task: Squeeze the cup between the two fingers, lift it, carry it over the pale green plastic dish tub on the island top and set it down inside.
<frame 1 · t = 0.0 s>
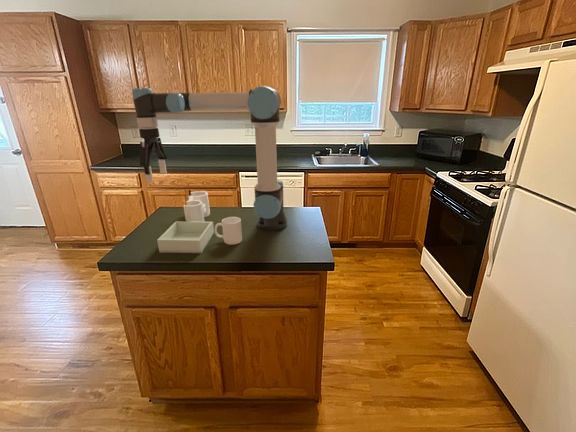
hand: (157, 177, 137), 28 cm above the countertop, fingers open, 13 cm apart
cup: (229, 241, 140), on the countertop
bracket: (199, 219, 165), on the countertop
tub: (188, 242, 139), on the countertop
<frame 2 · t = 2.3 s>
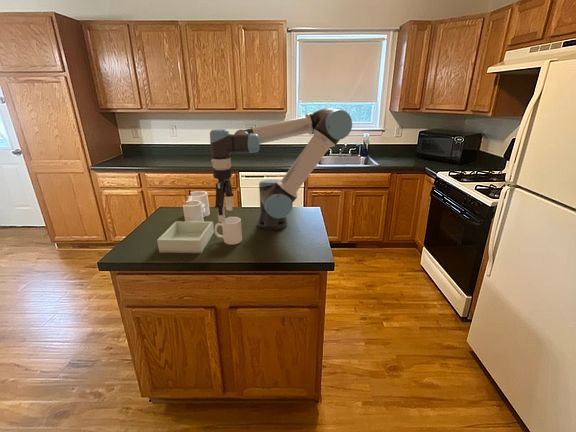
hand: (225, 215, 135), 12 cm above the countertop, fingers open, 13 cm apart
nothing on the countertop moved.
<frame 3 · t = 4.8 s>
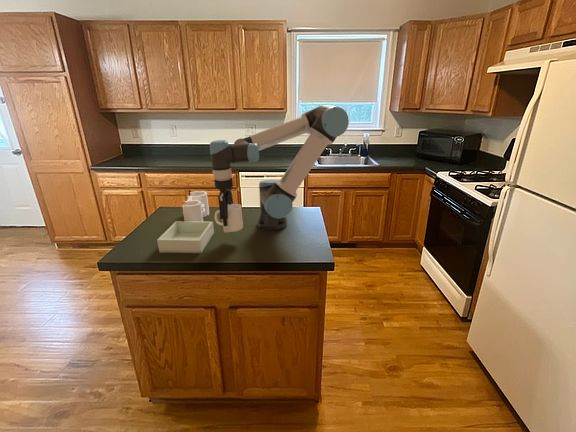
hand: (229, 227, 138), 7 cm above the countertop, fingers closed on cup, 8 cm apart
cup: (229, 228, 138), point 6 cm above the countertop, touching gripper
everything else where it was.
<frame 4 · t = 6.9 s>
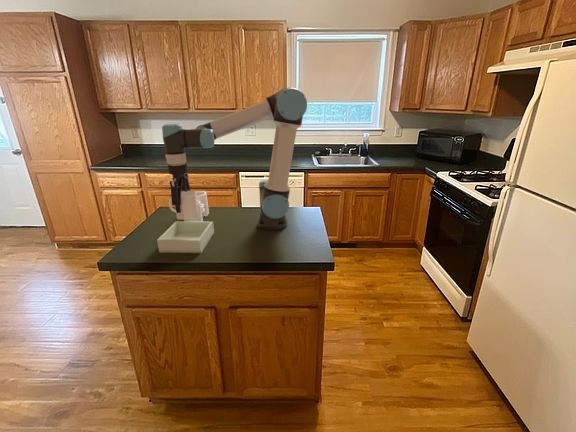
hand: (184, 215, 134), 13 cm above the countertop, fingers closed on cup, 8 cm apart
cup: (184, 216, 134), point 13 cm above the countertop, touching gripper
everything else where it was.
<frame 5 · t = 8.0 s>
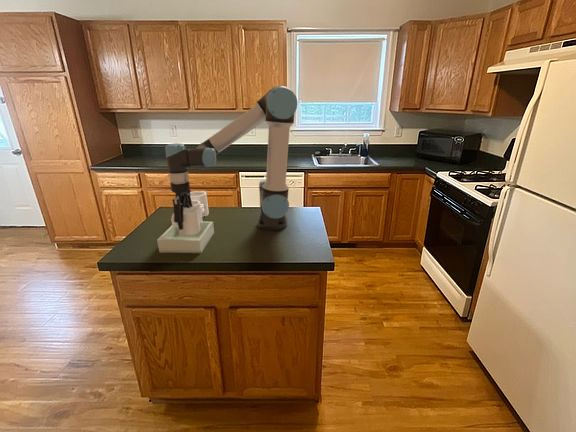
hand: (186, 231, 137), 6 cm above the countertop, fingers closed on cup, 8 cm apart
cup: (186, 232, 137), point 5 cm above the countertop, touching gripper
everything else where it was.
when the fingers open (3 cm above the countertop, at t = 9.1 s): cup drops 2 cm, resting on tub.
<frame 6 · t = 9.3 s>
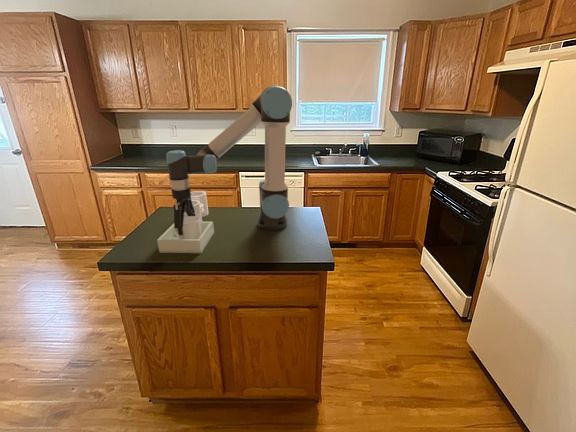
hand: (187, 235, 138), 3 cm above the countertop, fingers open, 11 cm apart
cup: (188, 240, 139), point 1 cm above the countertop, touching tub
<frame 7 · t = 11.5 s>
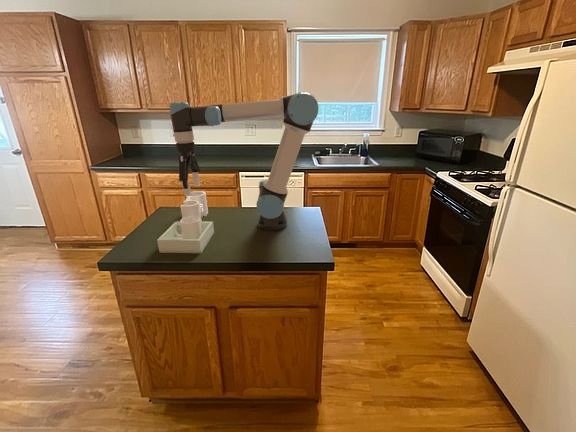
hand: (192, 190, 136), 23 cm above the countertop, fingers open, 13 cm apart
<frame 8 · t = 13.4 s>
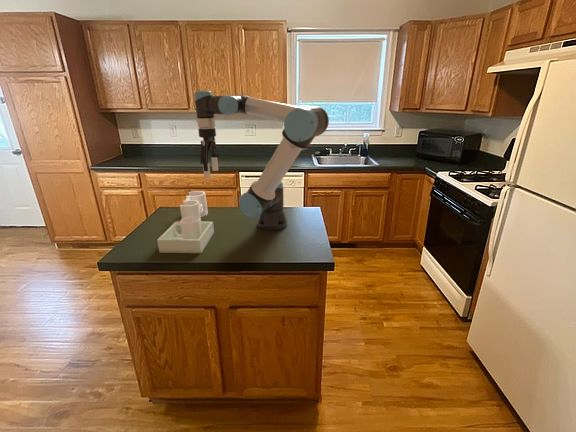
hand: (211, 174, 146), 27 cm above the countertop, fingers open, 13 cm apart
at the end: cup inside the target area on the tub (0.3 cm from its centre), point 0.6 cm above the tub's base; cup tilted 0°; the gripper is holding nothing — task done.
